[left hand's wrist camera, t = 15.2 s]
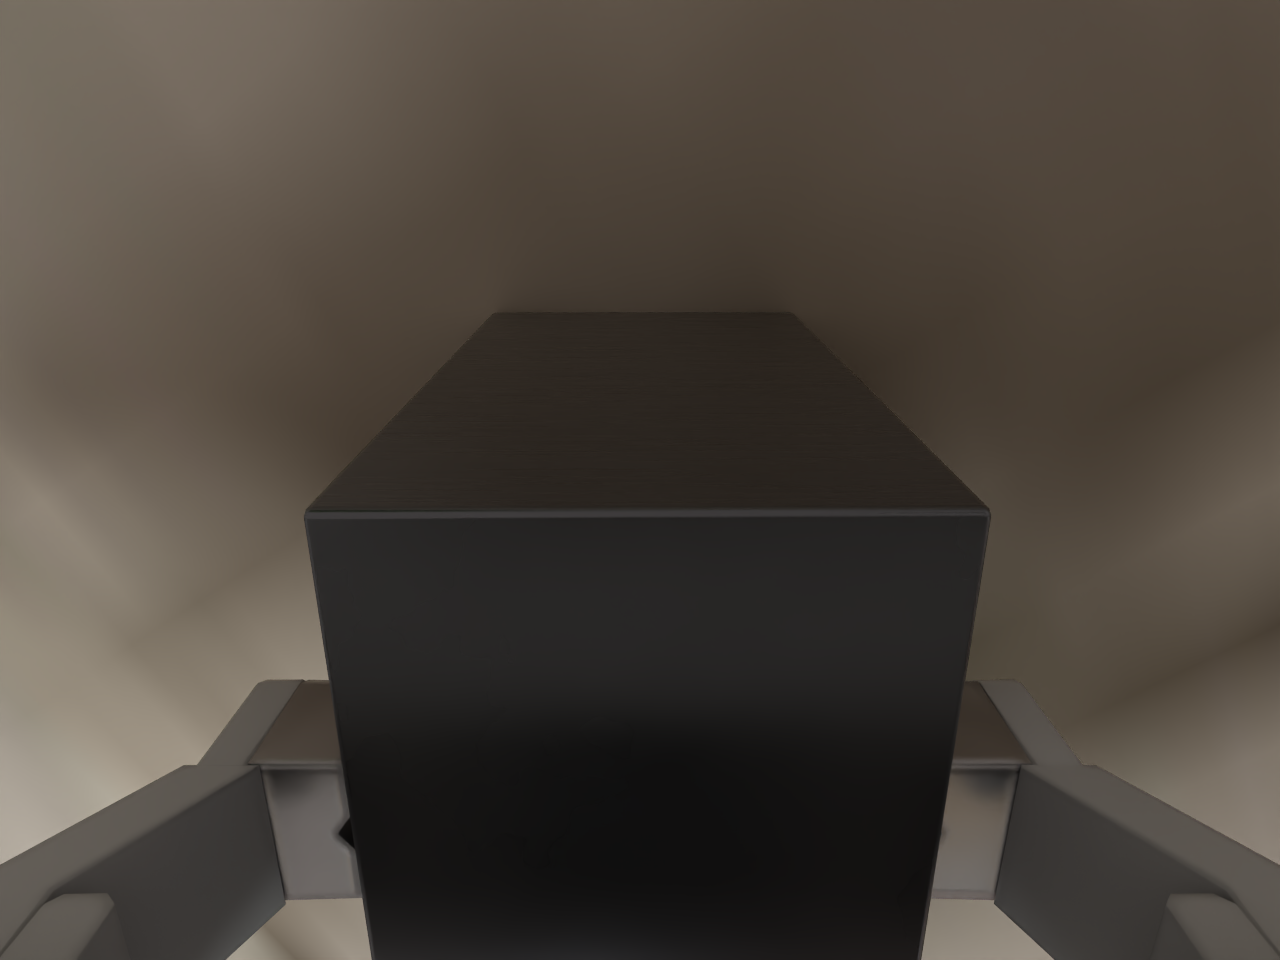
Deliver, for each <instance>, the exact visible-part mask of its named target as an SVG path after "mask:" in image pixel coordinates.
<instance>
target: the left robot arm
mask: <svg viewBox="0 0 1280 960" xmlns="http://www.w3.org/2000/svg"><path fill="white" fill-rule="evenodd" d="M337 898H362V892H361V885H360V879H359V872H358V866H357V859H356V853H355V846H354V839H353V833H352V826H351V820H350V813H349V807H348V800H347V794H346V787H345V781H344V774H343V768H342V761H341V755H340V748H339V742H338V735H337V729H336V722H335V716H334V709H333V703H332V696H331V690H330V683H329V680H307V681H305V680H265V681H263V682H260V683H258V684H257V685H256V686H255V687H254V689H253V690H252V691H251V693H250V694H249V696H248V697H247V698H246V700H245V701H244V702H243V704H242V705H241V706H240V708H239V709H238V710H237V712H236V713H235V714H234V716H233V717H232V718H231V720H230V721H229V723H228V724H227V725H226V727H225V728H224V729H223V731H222V732H221V733H220V735H219V736H218V737H217V739H216V740H215V741H214V743H213V744H212V745H211V747H210V748H209V750H208V751H207V752H206V754H205V755H204V756H203V758H202V759H201V760H200V762H199V763H198V764H197V765H183V766H181V767H180V768H178V769H176V770H174V771H172V772H170V773H169V774H167V775H165V776H163V777H161V778H159V779H158V780H156V781H154V782H152V783H150V784H148V785H146V786H145V787H143V788H141V789H139V790H137V791H135V792H134V793H132V794H130V795H128V796H126V797H124V798H123V799H121V800H119V801H117V802H115V803H113V804H111V805H110V806H108V807H106V808H104V809H102V810H100V811H99V812H97V813H95V814H93V815H91V816H89V817H87V818H86V819H84V820H82V821H80V822H78V823H76V824H75V825H73V826H71V827H69V828H67V829H65V830H64V831H62V832H60V833H58V834H56V835H54V836H53V837H51V838H49V839H47V840H45V841H43V842H41V843H40V844H38V845H36V846H34V847H32V848H30V849H29V850H27V851H25V852H23V853H21V854H19V855H18V856H16V857H14V858H12V859H10V860H8V861H6V862H5V863H3V864H1V865H0V960H226V959H227V958H228V957H229V956H230V955H231V954H232V953H233V952H234V951H235V950H237V949H238V948H239V947H240V946H241V945H242V944H243V943H244V942H245V941H246V940H247V939H249V938H250V937H251V936H252V935H253V934H254V933H255V932H256V931H257V930H258V929H259V928H260V927H262V926H263V925H264V924H265V923H266V922H267V921H268V920H269V919H270V918H271V917H272V916H273V915H275V914H276V913H277V912H278V911H279V910H280V909H281V908H282V907H283V906H284V905H285V904H286V902H285V900H303V899H337ZM931 898H941V899H977V900H995V901H994V904H995V905H996V906H997V907H998V908H999V909H1000V910H1001V911H1003V912H1004V913H1005V914H1006V915H1007V916H1008V917H1009V918H1010V919H1011V920H1012V921H1013V922H1014V923H1016V924H1017V925H1018V926H1019V927H1020V928H1021V929H1022V930H1023V931H1024V932H1025V933H1026V934H1027V935H1029V936H1030V937H1031V938H1032V939H1033V940H1034V941H1035V942H1036V943H1037V944H1038V945H1039V946H1040V947H1041V948H1043V949H1044V950H1045V951H1046V952H1047V953H1048V954H1049V955H1050V956H1051V957H1052V958H1053V959H1054V960H1280V865H1278V864H1277V863H1275V862H1273V861H1271V860H1269V859H1267V858H1266V857H1264V856H1262V855H1260V854H1258V853H1256V852H1254V851H1253V850H1251V849H1249V848H1247V847H1245V846H1243V845H1242V844H1240V843H1238V842H1236V841H1234V840H1232V839H1231V838H1229V837H1227V836H1225V835H1223V834H1221V833H1220V832H1218V831H1216V830H1214V829H1212V828H1210V827H1209V826H1207V825H1205V824H1203V823H1201V822H1199V821H1198V820H1196V819H1194V818H1192V817H1190V816H1188V815H1187V814H1185V813H1183V812H1181V811H1179V810H1177V809H1176V808H1174V807H1172V806H1170V805H1168V804H1166V803H1165V802H1163V801H1161V800H1159V799H1157V798H1155V797H1154V796H1152V795H1150V794H1148V793H1146V792H1144V791H1142V790H1141V789H1139V788H1137V787H1135V786H1133V785H1131V784H1130V783H1128V782H1126V781H1124V780H1122V779H1120V778H1119V777H1117V776H1115V775H1113V774H1111V773H1109V772H1108V771H1106V770H1104V769H1102V768H1100V767H1098V766H1097V765H1082V763H1081V762H1080V761H1079V759H1078V758H1077V757H1076V755H1075V754H1074V753H1073V751H1072V750H1071V749H1070V747H1069V746H1068V744H1067V743H1066V742H1065V740H1064V739H1063V738H1062V736H1061V735H1060V734H1059V732H1058V731H1057V730H1056V728H1055V727H1054V726H1053V724H1052V723H1051V722H1050V720H1049V719H1048V718H1047V716H1046V715H1045V714H1044V712H1043V711H1042V710H1041V708H1040V707H1039V706H1038V704H1037V703H1036V702H1035V700H1034V699H1033V698H1032V696H1031V695H1030V694H1029V692H1028V691H1027V690H1026V688H1025V687H1024V685H1023V684H1022V683H1020V682H1018V681H1016V680H1014V679H1001V680H973V681H965V684H964V690H963V697H962V703H961V709H960V716H959V722H958V728H957V735H956V741H955V747H954V754H953V760H952V766H951V773H950V779H949V785H948V792H947V798H946V804H945V811H944V817H943V823H942V830H941V836H940V843H939V849H938V855H937V862H936V868H935V874H934V881H933V887H932V893H931Z"/></svg>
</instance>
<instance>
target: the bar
mask: <svg viewBox="0 0 1280 960" xmlns="http://www.w3.org/2000/svg"><path fill="white" fill-rule="evenodd" d="M990 519H991V513H990V510H989V508H988V507H987V506H986V505H985V504H984V503H983V502H982V501H981V500H980V499H979V498H978V497H977V496H976V495H975V494H974V493H973V492H972V491H971V490H970V489H969V488H968V487H967V486H966V485H965V484H964V483H963V482H962V481H961V480H960V479H959V478H958V477H957V476H956V475H955V474H954V473H953V472H952V471H951V470H950V469H949V468H948V467H947V466H946V465H945V464H944V463H943V462H942V461H941V460H940V459H939V458H938V457H937V456H936V455H935V454H934V453H933V452H932V451H931V450H930V449H929V448H928V447H927V446H926V445H925V444H924V443H923V442H922V441H921V440H920V439H919V438H918V437H917V436H916V435H915V434H914V433H913V432H912V431H911V430H910V429H909V428H908V427H907V426H906V425H905V424H904V423H903V422H902V421H901V420H900V419H899V418H898V417H896V416H895V415H894V414H893V413H892V412H891V411H890V410H889V409H888V408H887V407H886V406H885V405H884V404H883V403H882V402H881V401H880V400H879V399H878V398H877V397H876V396H875V395H874V394H873V393H872V392H871V391H870V390H869V389H868V388H867V387H866V386H865V385H864V384H863V383H862V382H861V381H860V380H859V379H858V378H857V377H856V376H855V375H854V374H853V373H852V372H851V371H850V370H849V369H848V368H847V367H846V366H845V365H844V364H843V363H842V362H841V361H840V360H839V359H838V358H837V357H836V356H835V355H834V354H833V353H832V352H831V351H830V350H829V349H828V348H827V347H826V346H825V345H824V344H823V343H822V342H821V341H820V340H819V339H818V338H817V337H816V336H815V335H814V334H813V333H812V332H811V331H810V330H809V329H808V328H807V327H806V326H805V325H804V324H803V323H802V322H801V321H800V320H799V319H798V318H797V317H796V316H795V315H794V314H792V313H494V314H492V315H491V316H490V317H489V318H488V320H487V321H486V322H485V323H484V324H483V325H482V326H481V327H480V328H479V329H478V330H477V331H476V332H475V333H474V334H473V335H472V336H471V337H470V338H469V339H468V340H467V341H466V343H465V344H464V345H463V346H462V347H461V348H460V349H459V350H458V351H457V352H456V353H455V354H454V355H453V356H452V357H451V358H450V359H449V360H448V361H447V362H446V363H445V364H444V366H443V367H442V368H441V369H440V370H439V371H438V372H437V373H436V374H435V375H434V376H433V377H432V378H431V379H430V380H429V381H428V382H427V383H426V384H425V385H424V386H423V387H422V388H421V390H420V391H419V392H418V393H417V394H416V395H415V396H414V397H413V398H412V399H411V400H410V401H409V402H408V403H407V404H406V405H405V406H404V407H403V408H402V409H401V410H400V411H399V413H398V414H397V415H396V416H395V417H394V418H393V419H392V420H391V421H390V422H389V423H388V424H387V425H386V426H385V427H384V428H383V429H382V430H381V431H380V432H379V433H378V434H377V436H376V437H375V438H374V439H373V440H372V441H371V442H370V443H369V444H368V445H367V446H366V447H365V448H364V449H363V450H362V451H361V452H360V453H359V454H358V455H357V456H356V457H355V459H354V460H353V461H352V462H351V463H350V464H349V465H348V466H347V467H346V468H345V469H344V470H343V471H342V472H341V473H340V474H339V475H338V476H337V477H336V478H335V479H334V480H333V482H332V483H331V484H330V485H329V486H328V487H327V488H326V489H325V490H324V491H323V492H322V493H321V494H320V495H319V496H318V497H317V498H316V499H315V500H314V501H313V502H312V503H311V505H310V506H309V507H308V508H307V509H306V511H305V514H304V521H305V527H306V534H307V540H308V547H309V553H310V560H311V566H312V573H313V579H314V586H315V592H316V599H317V605H318V612H319V618H320V625H321V631H322V638H323V644H324V651H325V657H326V664H327V670H328V677H329V683H330V690H331V696H332V703H333V709H334V716H335V722H336V729H337V735H338V742H339V748H340V755H341V761H342V768H343V774H344V781H345V787H346V794H347V800H348V807H349V813H350V820H351V826H352V833H353V839H354V846H355V853H356V859H357V866H358V872H359V879H360V885H361V892H362V898H363V905H364V911H365V918H366V924H367V931H368V937H369V944H370V950H371V957H372V960H921V957H922V950H923V944H924V938H925V931H926V925H927V919H928V912H929V906H930V900H931V893H932V887H933V881H934V874H935V868H936V862H937V855H938V849H939V843H940V836H941V830H942V823H943V817H944V811H945V804H946V798H947V792H948V785H949V779H950V773H951V766H952V760H953V754H954V747H955V741H956V735H957V728H958V722H959V716H960V709H961V703H962V697H963V690H964V684H965V678H966V671H967V665H968V659H969V652H970V646H971V640H972V633H973V627H974V621H975V614H976V608H977V602H978V595H979V589H980V583H981V576H982V570H983V564H984V557H985V551H986V545H987V538H988V532H989V526H990Z"/></svg>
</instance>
